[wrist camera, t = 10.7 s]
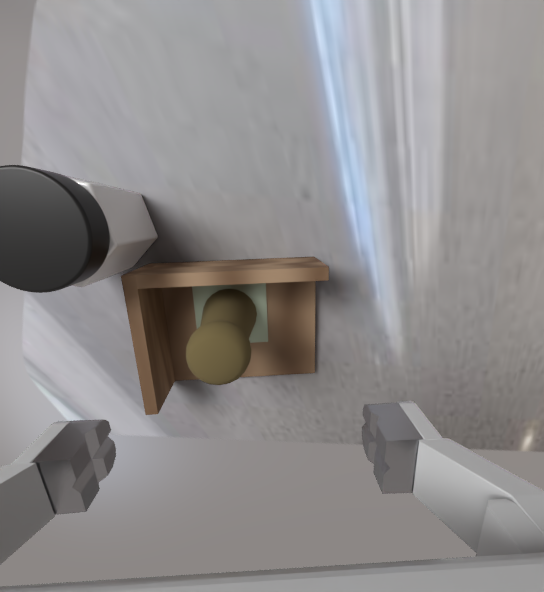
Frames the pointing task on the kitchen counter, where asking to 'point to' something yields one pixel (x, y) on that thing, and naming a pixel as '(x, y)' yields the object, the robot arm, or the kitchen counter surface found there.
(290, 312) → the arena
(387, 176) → the kitchen counter surface
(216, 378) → the olive pepper mill
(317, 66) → the kitchen counter surface
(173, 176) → the kitchen counter surface
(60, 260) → the jar
